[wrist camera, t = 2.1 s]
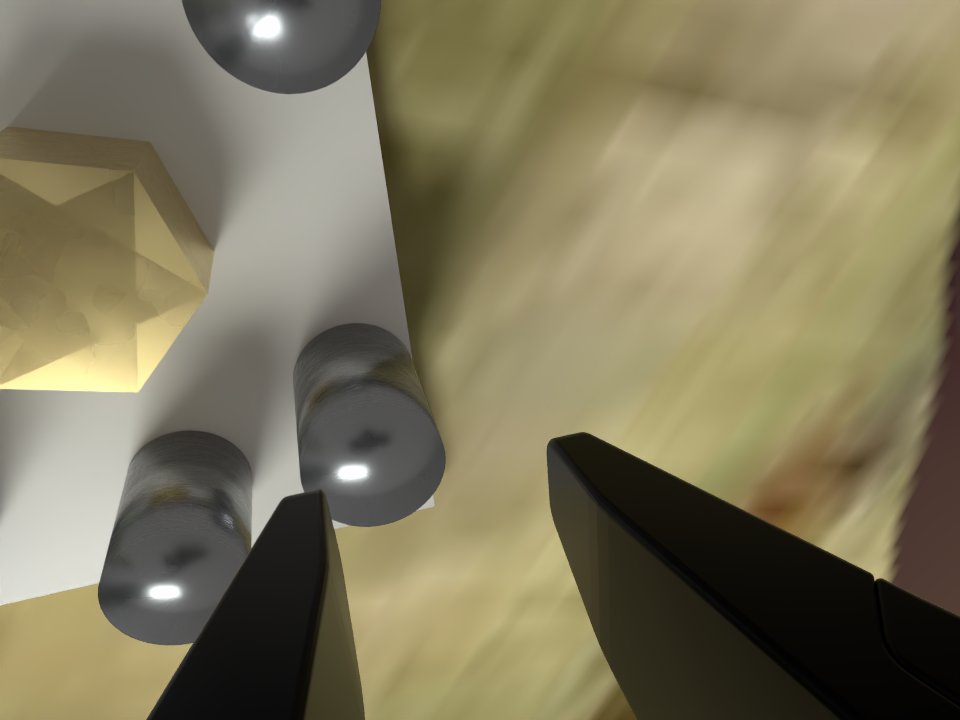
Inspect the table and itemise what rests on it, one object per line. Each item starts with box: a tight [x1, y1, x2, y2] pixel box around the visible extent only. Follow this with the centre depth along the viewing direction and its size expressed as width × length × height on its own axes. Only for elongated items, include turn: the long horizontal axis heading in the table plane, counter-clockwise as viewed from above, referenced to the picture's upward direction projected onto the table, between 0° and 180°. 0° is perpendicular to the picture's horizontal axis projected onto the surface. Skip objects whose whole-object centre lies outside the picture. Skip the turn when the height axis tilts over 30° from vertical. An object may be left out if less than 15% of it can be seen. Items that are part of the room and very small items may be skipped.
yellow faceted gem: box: [0, 126, 214, 393], centre depth 16 cm, size 4×5×2 cm
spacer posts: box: [98, 0, 445, 645], centre depth 15 cm, size 14×16×4 cm
